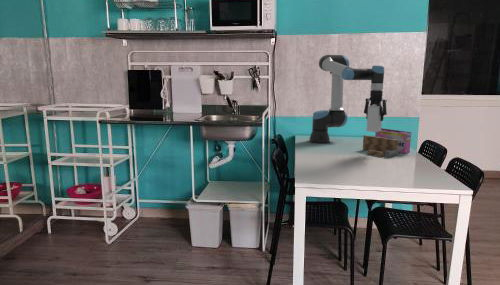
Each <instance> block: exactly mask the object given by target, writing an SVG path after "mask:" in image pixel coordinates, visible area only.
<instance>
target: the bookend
mask: <svg viewBox="0 0 500 285" xmlns="http://www.w3.org/2000/svg"><path fill="white" fill-rule="evenodd" d="M396 150H397V149H391V150H387V151H385V153H384V156H385V157H384V158H387V157H388V159H389V157H390V158H392V157H395V156H397V155H396Z"/></svg>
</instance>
